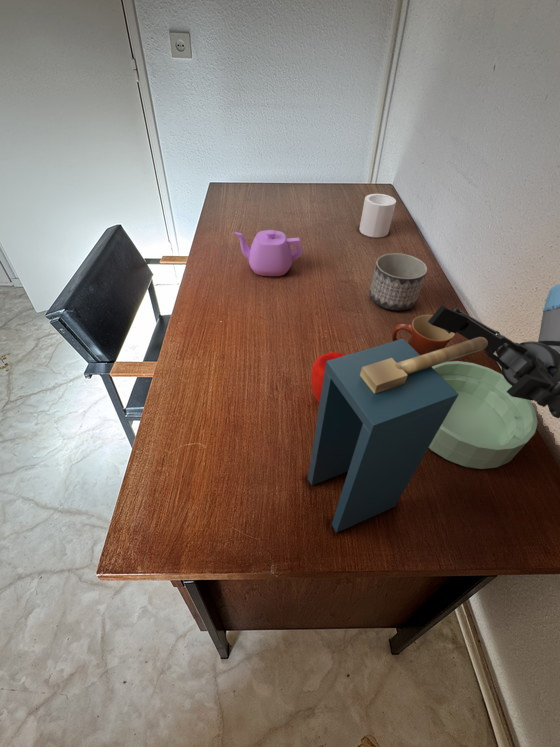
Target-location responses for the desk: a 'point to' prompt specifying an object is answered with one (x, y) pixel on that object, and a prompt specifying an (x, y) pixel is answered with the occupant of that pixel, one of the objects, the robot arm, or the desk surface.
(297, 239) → the teapot
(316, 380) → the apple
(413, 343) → the mug
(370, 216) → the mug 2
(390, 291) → the planter
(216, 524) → the desk surface
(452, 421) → the bowl
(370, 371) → the wooden mallet
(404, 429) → the teal arch block
